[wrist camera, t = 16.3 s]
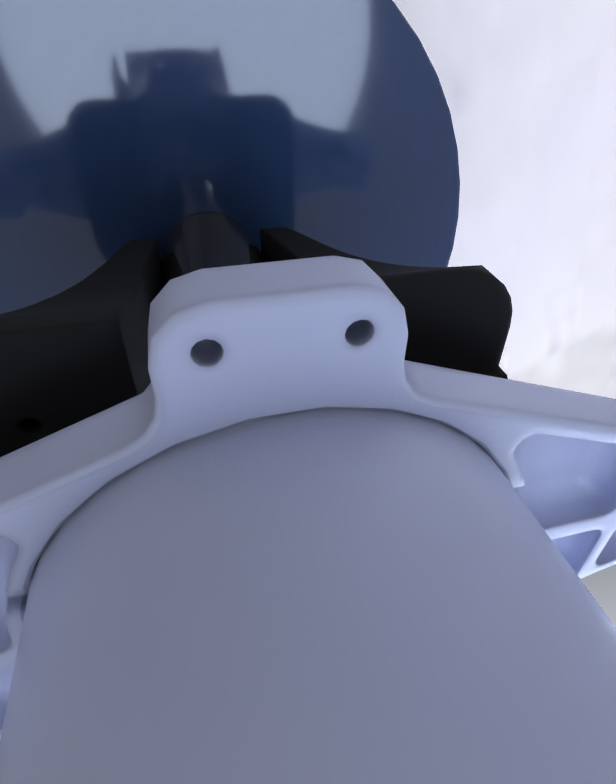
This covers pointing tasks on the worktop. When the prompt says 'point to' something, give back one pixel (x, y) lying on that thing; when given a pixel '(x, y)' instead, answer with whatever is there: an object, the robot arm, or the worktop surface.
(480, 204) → the worktop surface
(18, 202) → the lid
